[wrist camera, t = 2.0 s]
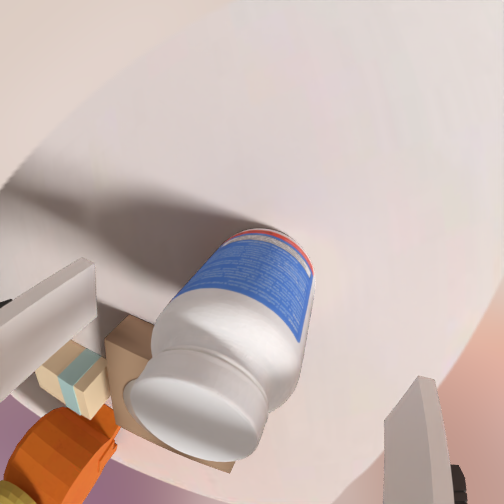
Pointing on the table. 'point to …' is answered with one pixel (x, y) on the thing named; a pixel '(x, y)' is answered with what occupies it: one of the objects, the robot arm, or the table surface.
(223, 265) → the pill bottle
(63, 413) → the alarm clock
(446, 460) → the robot arm
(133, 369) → the podium
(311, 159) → the table surface
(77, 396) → the carton
